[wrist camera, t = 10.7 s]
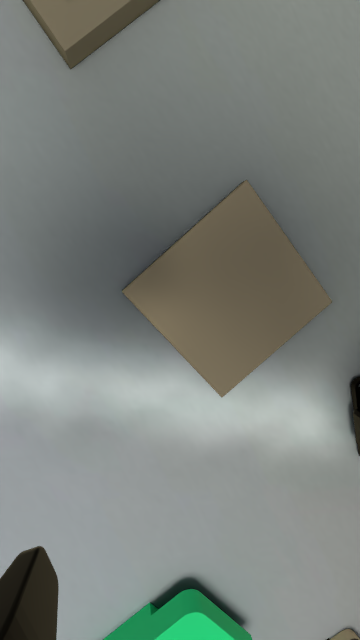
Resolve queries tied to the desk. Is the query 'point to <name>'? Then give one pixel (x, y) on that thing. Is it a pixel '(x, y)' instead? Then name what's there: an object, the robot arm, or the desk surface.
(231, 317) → the lid
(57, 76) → the desk surface
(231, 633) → the green mounting bracket
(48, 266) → the desk surface
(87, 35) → the shallow beige square tray
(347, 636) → the notebook
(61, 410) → the desk surface
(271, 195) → the desk surface
